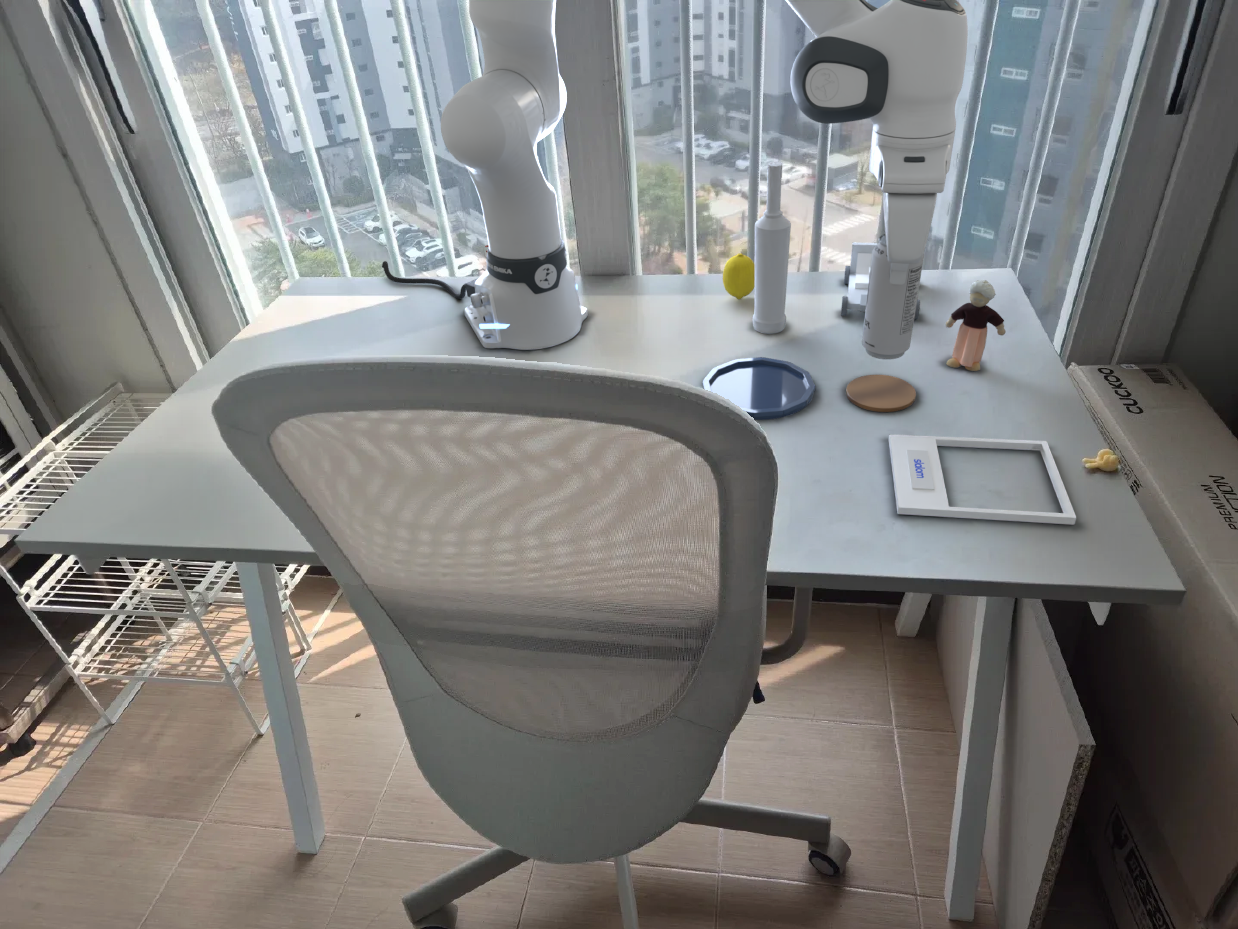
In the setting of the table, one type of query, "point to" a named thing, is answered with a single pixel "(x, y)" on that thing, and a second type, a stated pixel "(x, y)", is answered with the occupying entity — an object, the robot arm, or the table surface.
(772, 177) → the bottle
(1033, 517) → the photo frame
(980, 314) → the grandmother figurine
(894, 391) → the coaster
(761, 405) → the plate
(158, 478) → the table surface
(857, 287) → the toy car
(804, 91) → the robot arm
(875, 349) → the energy drink can
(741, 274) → the lemon
